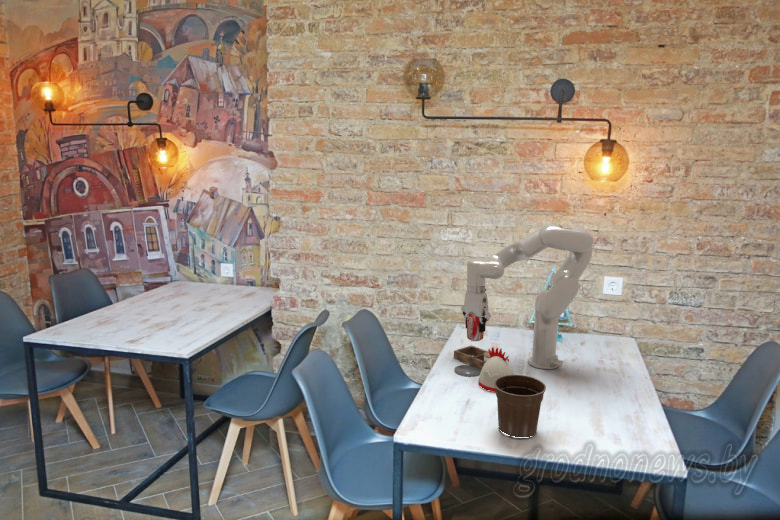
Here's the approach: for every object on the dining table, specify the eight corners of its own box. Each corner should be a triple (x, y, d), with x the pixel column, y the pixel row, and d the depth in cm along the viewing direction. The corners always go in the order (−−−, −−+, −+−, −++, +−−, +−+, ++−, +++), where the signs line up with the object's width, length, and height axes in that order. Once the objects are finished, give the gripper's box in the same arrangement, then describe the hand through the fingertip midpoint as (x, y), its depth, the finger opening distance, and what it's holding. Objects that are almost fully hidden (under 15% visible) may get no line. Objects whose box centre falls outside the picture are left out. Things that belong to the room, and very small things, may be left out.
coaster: (487, 372, 243) (487, 371, 243) (468, 378, 237) (468, 377, 236) (467, 364, 252) (467, 362, 252) (448, 370, 245) (448, 369, 245)
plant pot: (510, 447, 186) (513, 398, 182) (482, 424, 200) (484, 378, 197) (552, 437, 192) (556, 390, 189) (522, 415, 206) (525, 371, 203)
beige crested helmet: (488, 375, 241) (490, 339, 238) (520, 383, 233) (523, 346, 230) (472, 386, 230) (474, 349, 227) (505, 395, 222) (508, 357, 219)
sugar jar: (498, 366, 249) (499, 354, 248) (490, 370, 246) (490, 357, 245) (488, 363, 253) (489, 350, 252) (480, 366, 250) (480, 353, 249)
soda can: (483, 342, 251) (483, 314, 248) (466, 341, 252) (466, 314, 250) (484, 336, 258) (484, 309, 255) (467, 336, 259) (467, 309, 257)
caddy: (508, 367, 249) (509, 359, 248) (490, 373, 242) (491, 365, 241) (471, 352, 264) (471, 345, 264) (453, 358, 258) (453, 350, 257)
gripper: (497, 291, 246) (497, 332, 250) (466, 283, 259) (466, 323, 263) (485, 294, 241) (485, 336, 245) (454, 286, 255) (454, 326, 258)
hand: (475, 329), depth 254 cm, fingers closed on soda can, 7 cm apart
